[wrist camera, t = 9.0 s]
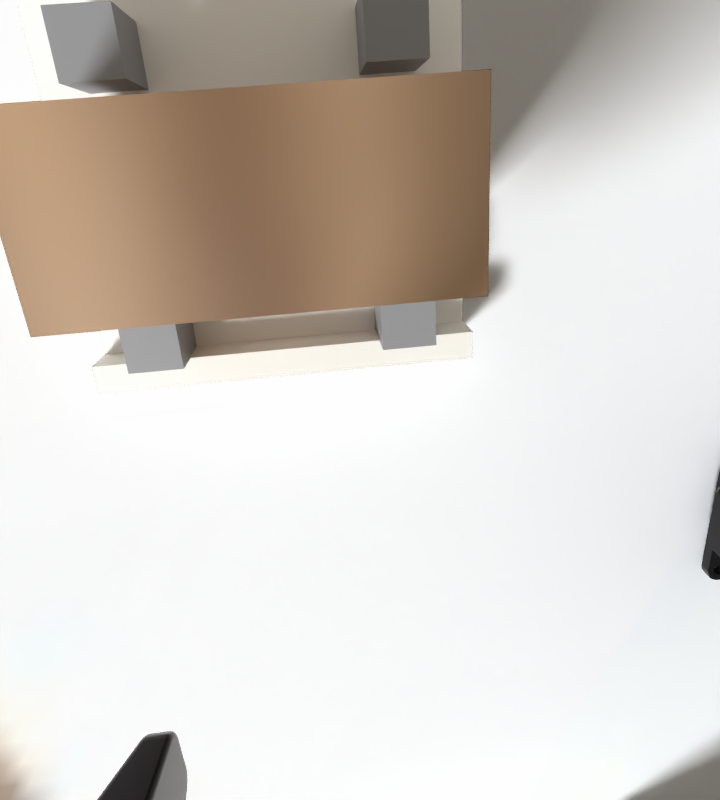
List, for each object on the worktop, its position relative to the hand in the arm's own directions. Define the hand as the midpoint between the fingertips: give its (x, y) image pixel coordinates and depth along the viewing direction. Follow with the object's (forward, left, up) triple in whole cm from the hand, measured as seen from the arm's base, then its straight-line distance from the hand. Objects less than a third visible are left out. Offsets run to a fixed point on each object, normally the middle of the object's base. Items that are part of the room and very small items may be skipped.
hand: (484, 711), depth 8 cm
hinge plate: (+3, -7, -12) cm, 15 cm away
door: (+3, -7, -11) cm, 14 cm away
